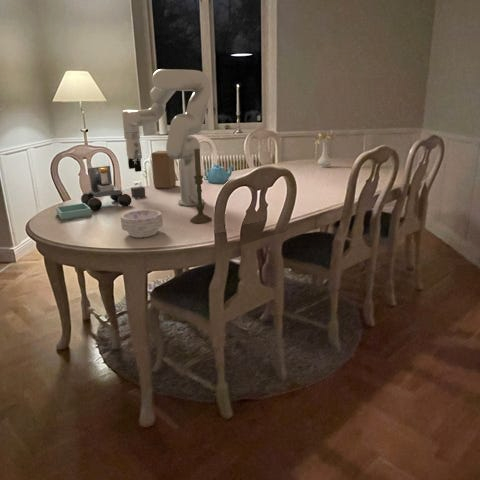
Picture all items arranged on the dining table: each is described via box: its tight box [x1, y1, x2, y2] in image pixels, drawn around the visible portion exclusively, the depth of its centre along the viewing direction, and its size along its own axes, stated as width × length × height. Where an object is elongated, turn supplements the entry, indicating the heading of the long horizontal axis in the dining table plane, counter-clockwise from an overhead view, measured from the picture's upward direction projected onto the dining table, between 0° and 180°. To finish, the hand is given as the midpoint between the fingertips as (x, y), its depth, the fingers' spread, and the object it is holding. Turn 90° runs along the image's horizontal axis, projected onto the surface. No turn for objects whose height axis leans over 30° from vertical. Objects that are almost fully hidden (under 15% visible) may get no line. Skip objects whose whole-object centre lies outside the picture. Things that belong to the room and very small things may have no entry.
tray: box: [55, 203, 93, 221], centre depth 190 cm, size 12×12×4 cm
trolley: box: [80, 165, 132, 212], centre depth 203 cm, size 15×20×18 cm
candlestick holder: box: [189, 147, 213, 225], centre depth 173 cm, size 9×9×30 cm
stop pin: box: [99, 168, 109, 186], centre depth 201 cm, size 4×4×10 cm
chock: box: [130, 185, 146, 199], centre depth 222 cm, size 4×6×5 cm, turn 122°
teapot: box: [203, 162, 235, 184], centre depth 254 cm, size 15×15×10 cm
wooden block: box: [150, 150, 177, 189], centre depth 242 cm, size 10×10×20 cm
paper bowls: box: [120, 209, 164, 239], centre depth 161 cm, size 15×15×8 cm
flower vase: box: [311, 129, 338, 169], centre depth 291 cm, size 13×18×25 cm
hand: (135, 170), depth 219 cm, fingers open, 9 cm apart
